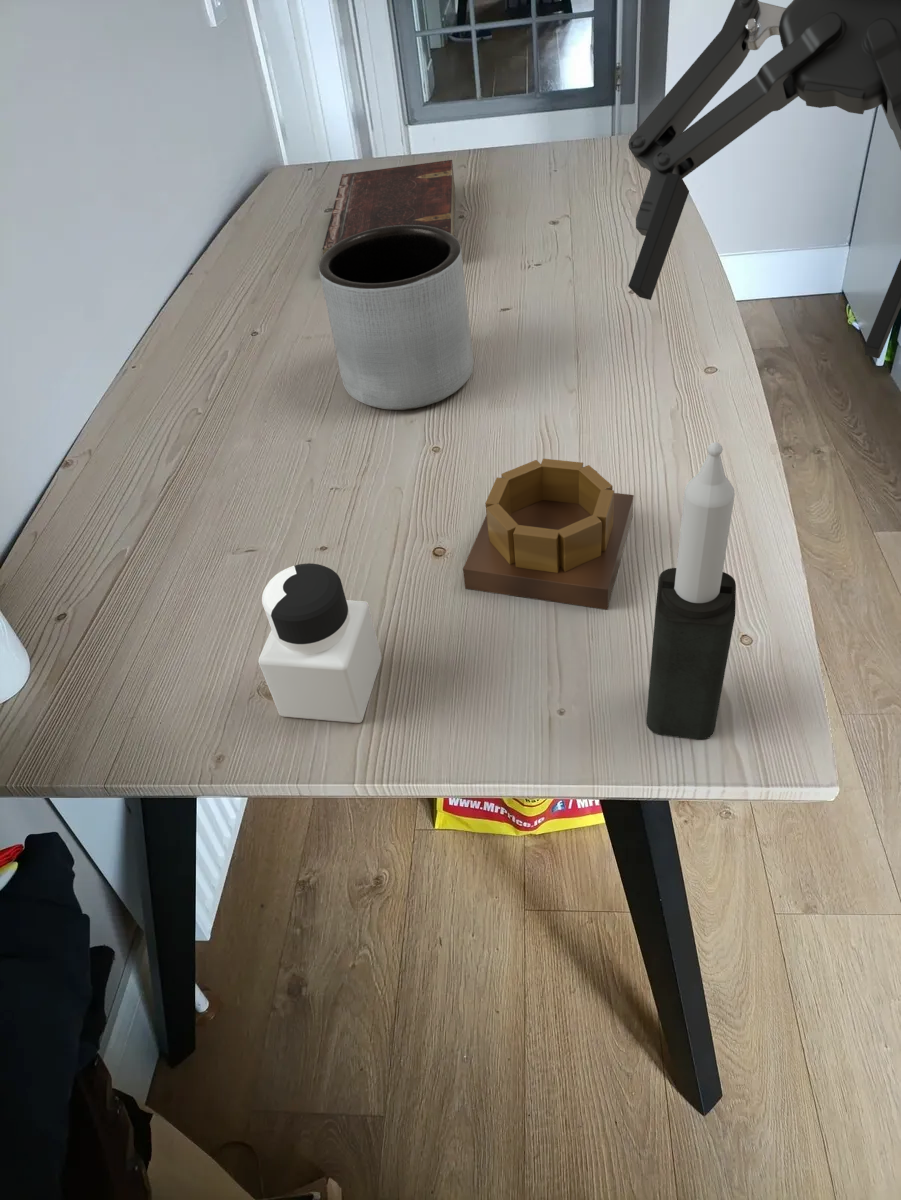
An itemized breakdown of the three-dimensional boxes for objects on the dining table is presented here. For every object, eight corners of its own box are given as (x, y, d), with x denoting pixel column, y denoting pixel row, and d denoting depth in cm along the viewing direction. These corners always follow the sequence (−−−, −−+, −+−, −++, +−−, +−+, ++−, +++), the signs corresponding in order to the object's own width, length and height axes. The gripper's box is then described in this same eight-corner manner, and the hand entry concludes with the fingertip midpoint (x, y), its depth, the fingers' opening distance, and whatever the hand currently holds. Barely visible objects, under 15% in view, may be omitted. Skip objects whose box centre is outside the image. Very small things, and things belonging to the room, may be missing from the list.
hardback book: (345, 202, 149) (339, 172, 146) (455, 191, 148) (452, 159, 144) (327, 279, 129) (320, 246, 125) (454, 266, 127) (450, 232, 124)
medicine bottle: (383, 658, 75) (357, 554, 67) (362, 725, 70) (332, 622, 62) (304, 652, 76) (269, 550, 68) (278, 718, 72) (238, 616, 63)
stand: (632, 515, 85) (635, 460, 80) (607, 610, 76) (609, 554, 72) (503, 500, 88) (498, 446, 84) (465, 588, 80) (457, 535, 75)
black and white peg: (714, 742, 66) (762, 473, 48) (644, 733, 67) (667, 467, 49) (716, 689, 69) (762, 419, 51) (650, 681, 70) (672, 416, 53)
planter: (368, 342, 114) (345, 222, 103) (488, 347, 110) (477, 222, 99) (325, 412, 103) (294, 286, 92) (455, 419, 99) (440, 289, 88)
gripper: (1162, -22, 44) (977, 391, 49) (690, -62, 54) (574, 286, 58) (1212, -121, 37) (992, 369, 42) (663, -147, 47) (534, 255, 52)
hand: (749, 322), depth 50 cm, fingers open, 13 cm apart
